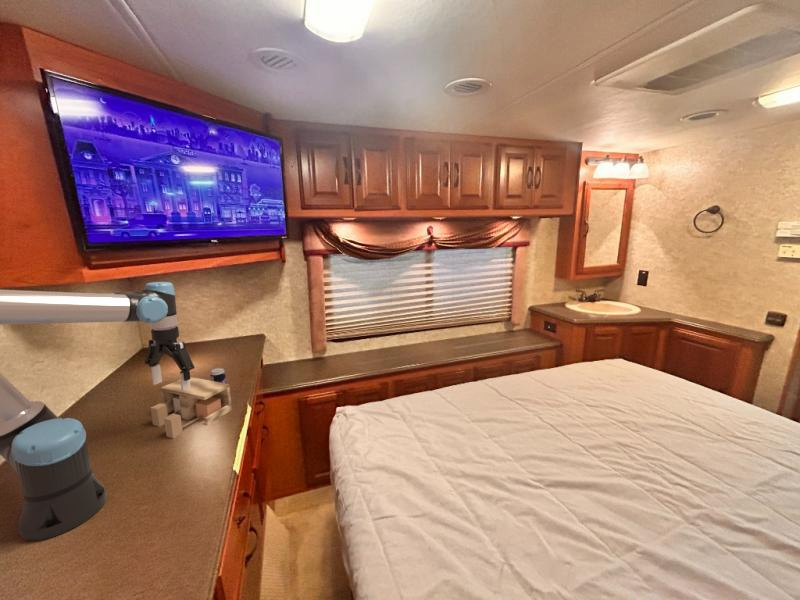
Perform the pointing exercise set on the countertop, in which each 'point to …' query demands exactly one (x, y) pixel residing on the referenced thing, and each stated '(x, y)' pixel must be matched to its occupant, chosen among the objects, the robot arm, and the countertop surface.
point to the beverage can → (218, 375)
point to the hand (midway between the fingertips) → (171, 386)
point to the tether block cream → (163, 411)
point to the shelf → (197, 397)
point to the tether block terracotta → (202, 411)
